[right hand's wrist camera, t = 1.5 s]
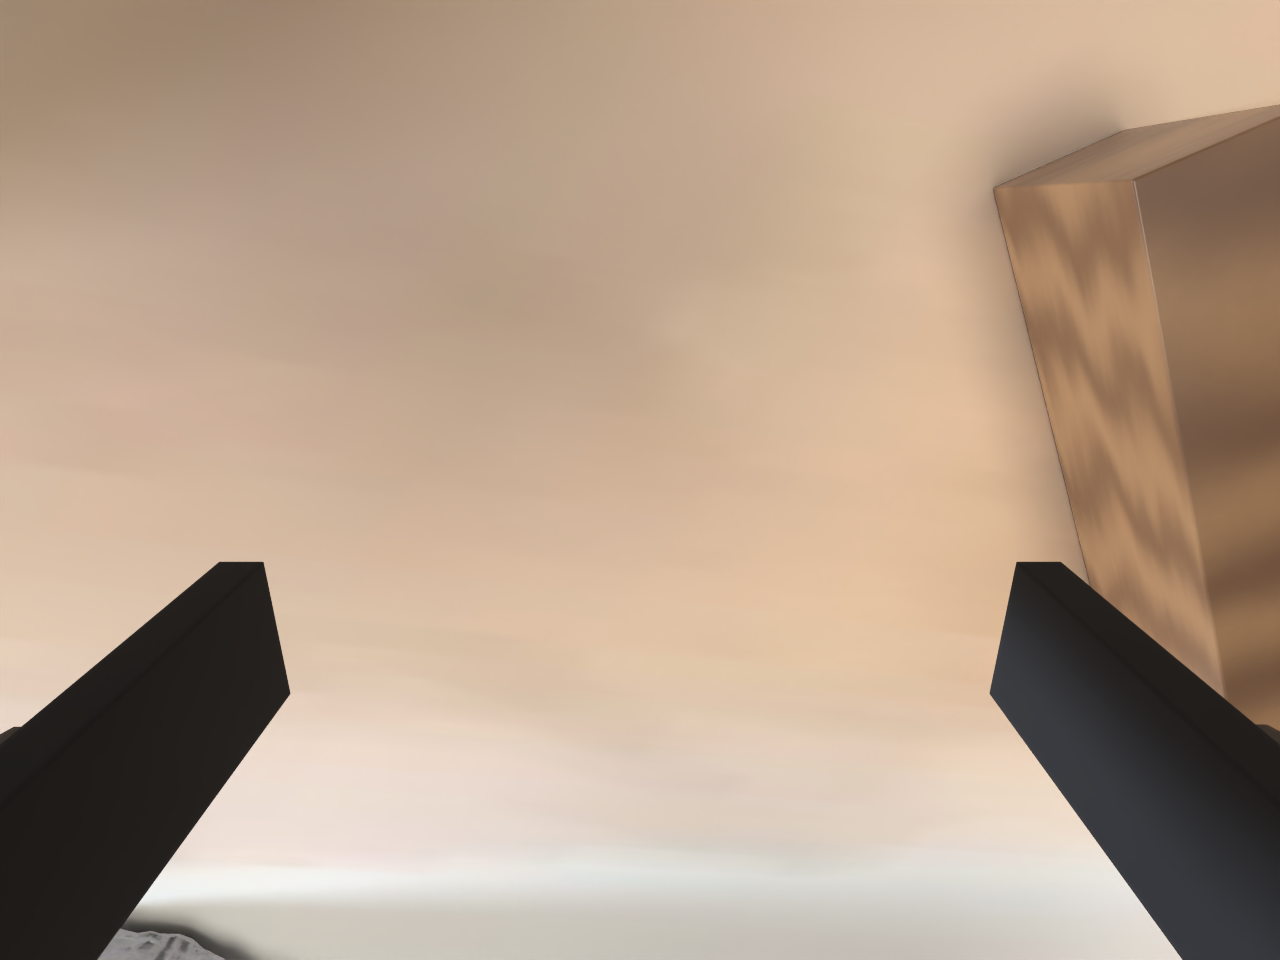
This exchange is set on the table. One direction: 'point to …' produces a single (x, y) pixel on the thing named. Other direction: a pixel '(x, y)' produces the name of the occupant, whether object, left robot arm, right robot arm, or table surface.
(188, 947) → the fossil
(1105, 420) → the bar
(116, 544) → the table surface
